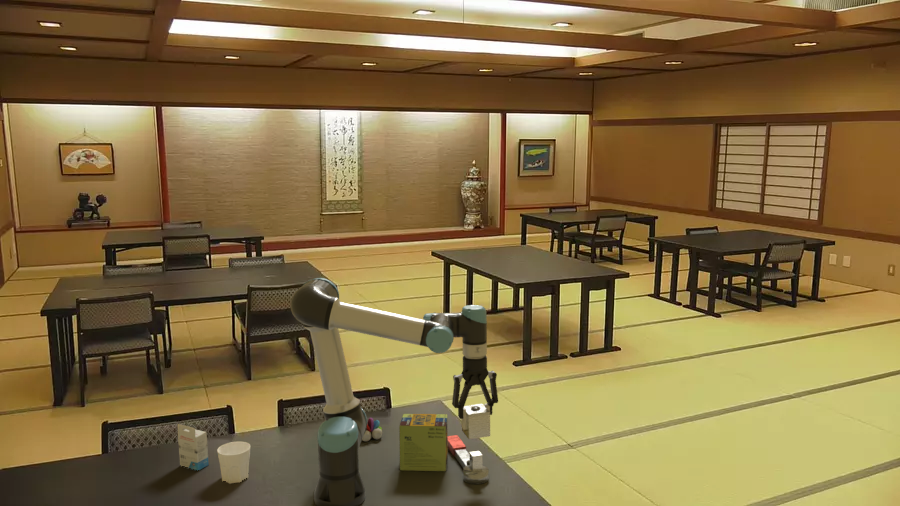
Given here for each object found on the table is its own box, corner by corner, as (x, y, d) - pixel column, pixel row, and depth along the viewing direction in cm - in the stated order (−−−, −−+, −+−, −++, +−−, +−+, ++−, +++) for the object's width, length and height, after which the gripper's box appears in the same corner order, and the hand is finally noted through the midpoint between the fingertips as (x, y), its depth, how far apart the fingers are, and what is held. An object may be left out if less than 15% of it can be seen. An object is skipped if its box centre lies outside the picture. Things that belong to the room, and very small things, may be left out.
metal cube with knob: (468, 439, 210) (468, 413, 209) (462, 430, 217) (461, 405, 216) (490, 436, 212) (490, 410, 211) (482, 427, 219) (482, 402, 218)
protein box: (446, 471, 222) (446, 426, 220) (399, 470, 223) (398, 425, 221) (448, 457, 233) (448, 413, 230) (403, 456, 233) (402, 413, 231)
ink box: (209, 465, 228) (206, 423, 225) (197, 471, 223) (195, 428, 221) (191, 460, 231) (188, 418, 229) (179, 466, 227) (176, 423, 225)
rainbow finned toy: (353, 435, 251) (352, 416, 250) (378, 430, 255) (377, 412, 254) (360, 444, 243) (359, 424, 242) (385, 439, 247) (385, 420, 246)
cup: (218, 486, 213) (216, 456, 211) (219, 472, 222) (218, 443, 221) (251, 482, 216) (250, 452, 214) (252, 468, 225) (250, 440, 224)
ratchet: (467, 485, 213) (467, 460, 211) (440, 445, 242) (440, 422, 241) (492, 482, 215) (492, 457, 214) (462, 442, 244) (462, 420, 243)
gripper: (447, 362, 205) (448, 435, 208) (509, 355, 211) (509, 426, 214) (440, 355, 212) (441, 425, 216) (500, 349, 218) (501, 417, 221)
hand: (475, 426), depth 215 cm, fingers closed on metal cube with knob, 7 cm apart
